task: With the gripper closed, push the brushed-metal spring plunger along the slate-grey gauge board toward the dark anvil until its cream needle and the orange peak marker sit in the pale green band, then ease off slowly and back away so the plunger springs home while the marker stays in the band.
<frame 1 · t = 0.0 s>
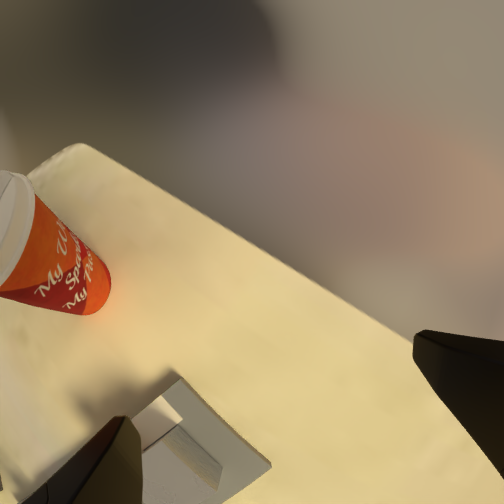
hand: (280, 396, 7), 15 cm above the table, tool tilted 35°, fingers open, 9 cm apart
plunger: (158, 460, 15), point 4 cm above the table, slide at 0.0 cm
gauge board: (112, 503, 16), on the table
paper cup: (87, 285, 24), on the table
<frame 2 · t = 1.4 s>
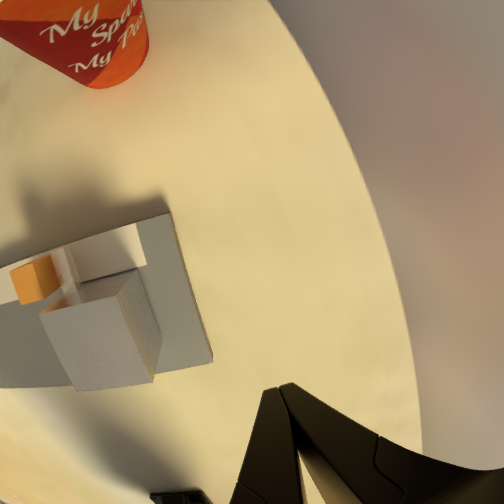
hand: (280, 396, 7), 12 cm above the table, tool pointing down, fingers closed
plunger: (96, 309, 14), point 4 cm above the table, slide at 0.0 cm
gauge board: (21, 327, 17), on the table
paper cup: (111, 54, 14), on the table
peak marker: (38, 277, 13), point 3 cm above the table, slide at 0.0 cm
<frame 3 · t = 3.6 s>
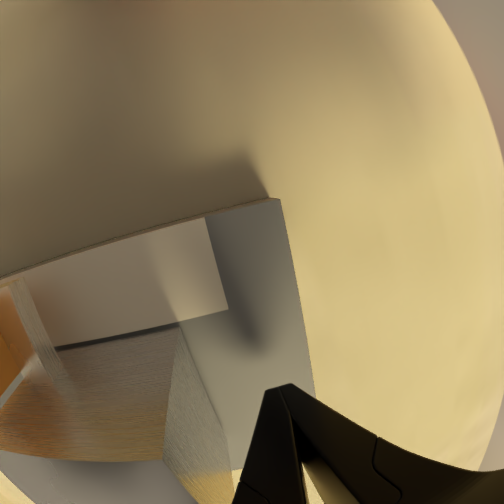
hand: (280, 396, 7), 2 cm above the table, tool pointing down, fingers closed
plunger: (99, 422, 5), point 4 cm above the table, slide at 0.8 cm, touching gripper, peak marker
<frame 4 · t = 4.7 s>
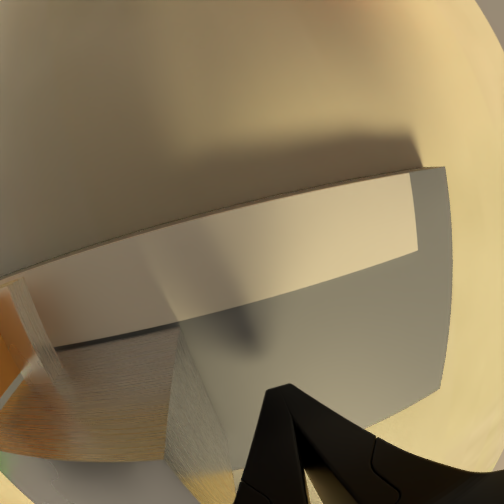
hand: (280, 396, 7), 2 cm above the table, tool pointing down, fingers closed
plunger: (99, 422, 5), point 4 cm above the table, slide at 7.0 cm, touching gripper, peak marker
gauge board: (78, 387, 9), on the table
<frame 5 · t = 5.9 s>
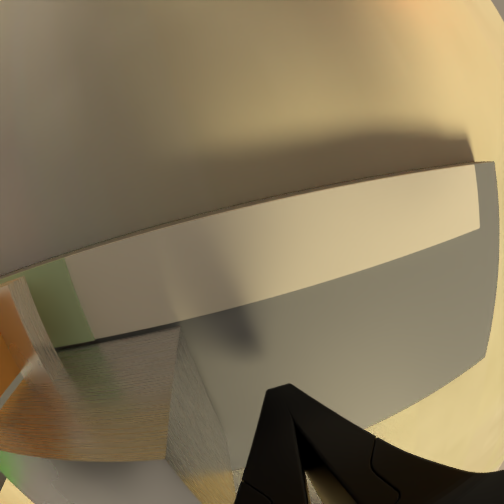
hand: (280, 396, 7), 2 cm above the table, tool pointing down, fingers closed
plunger: (99, 422, 5), point 4 cm above the table, slide at 10.7 cm, touching gripper, peak marker
gauge board: (160, 374, 9), on the table
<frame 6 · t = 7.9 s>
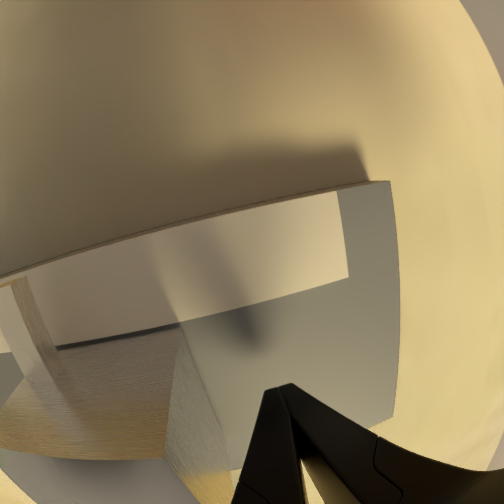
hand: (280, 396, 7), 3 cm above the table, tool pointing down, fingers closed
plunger: (100, 421, 5), point 4 cm above the table, slide at 4.3 cm, touching gripper
gauge board: (34, 388, 9), on the table
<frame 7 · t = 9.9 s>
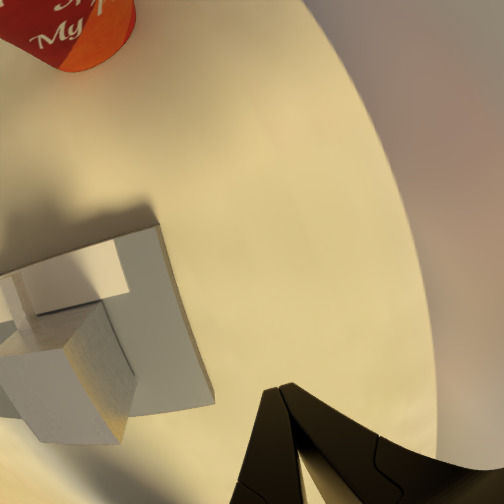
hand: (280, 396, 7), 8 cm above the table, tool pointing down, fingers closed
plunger: (53, 351, 10), point 4 cm above the table, slide at 0.9 cm
paper cup: (91, 31, 11), on the table
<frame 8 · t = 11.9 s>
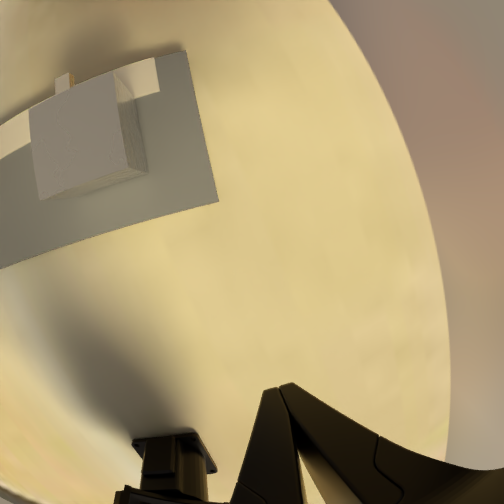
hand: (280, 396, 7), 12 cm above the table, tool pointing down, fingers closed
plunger: (86, 119, 12), point 4 cm above the table, slide at 0.9 cm
gauge board: (10, 193, 15), on the table
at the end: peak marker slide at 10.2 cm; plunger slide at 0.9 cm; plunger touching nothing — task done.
